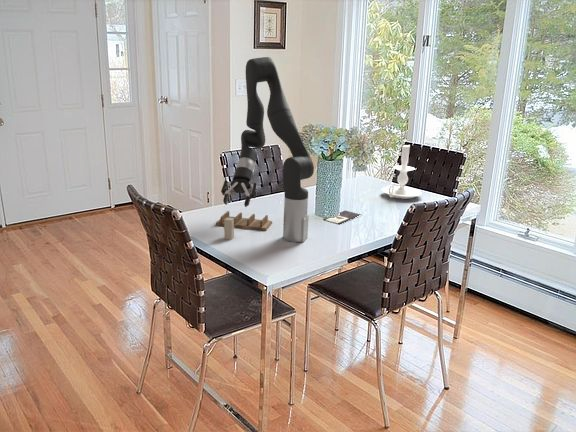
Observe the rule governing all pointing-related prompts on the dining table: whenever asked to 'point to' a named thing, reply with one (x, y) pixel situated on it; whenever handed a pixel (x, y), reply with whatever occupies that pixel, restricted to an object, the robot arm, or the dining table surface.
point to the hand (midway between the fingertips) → (235, 204)
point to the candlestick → (402, 179)
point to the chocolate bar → (342, 217)
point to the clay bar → (229, 228)
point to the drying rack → (246, 222)
